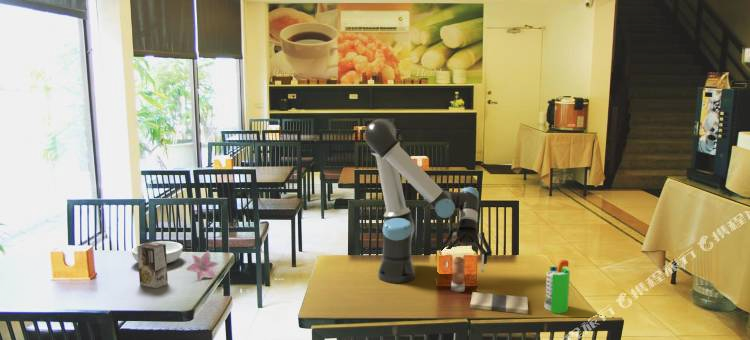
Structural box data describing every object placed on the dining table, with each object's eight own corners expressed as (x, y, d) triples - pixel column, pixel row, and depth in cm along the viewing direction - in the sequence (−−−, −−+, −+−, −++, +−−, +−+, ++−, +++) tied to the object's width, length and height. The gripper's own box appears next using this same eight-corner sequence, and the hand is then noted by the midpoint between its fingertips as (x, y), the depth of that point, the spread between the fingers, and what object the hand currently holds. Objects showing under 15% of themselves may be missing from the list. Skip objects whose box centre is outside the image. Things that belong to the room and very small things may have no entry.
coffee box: (168, 283, 228) (166, 244, 225) (156, 288, 222) (154, 248, 219) (151, 279, 231) (149, 241, 229) (138, 285, 226) (136, 245, 223)
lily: (182, 283, 231) (186, 266, 227) (189, 263, 241) (193, 246, 236) (211, 290, 234) (216, 273, 229) (217, 270, 244) (222, 254, 239)
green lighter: (540, 303, 211) (543, 256, 208) (561, 302, 212) (564, 255, 209) (549, 313, 202) (552, 264, 199) (572, 312, 203) (575, 264, 200)
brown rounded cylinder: (450, 291, 222) (451, 258, 220) (451, 286, 227) (453, 254, 225) (463, 292, 221) (465, 259, 219) (465, 287, 226) (466, 255, 224)
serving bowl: (173, 271, 242) (172, 255, 241) (124, 270, 243) (123, 254, 242) (189, 255, 263) (189, 241, 262) (144, 254, 263) (143, 240, 262)
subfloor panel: (470, 308, 206) (470, 304, 206) (472, 295, 218) (472, 292, 217) (527, 313, 202) (527, 309, 201) (526, 301, 213) (527, 297, 213)
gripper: (498, 228, 237) (497, 276, 225) (438, 225, 242) (433, 271, 230) (499, 219, 231) (497, 267, 219) (437, 216, 236) (432, 263, 224)
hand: (464, 269), depth 225 cm, fingers open, 13 cm apart
